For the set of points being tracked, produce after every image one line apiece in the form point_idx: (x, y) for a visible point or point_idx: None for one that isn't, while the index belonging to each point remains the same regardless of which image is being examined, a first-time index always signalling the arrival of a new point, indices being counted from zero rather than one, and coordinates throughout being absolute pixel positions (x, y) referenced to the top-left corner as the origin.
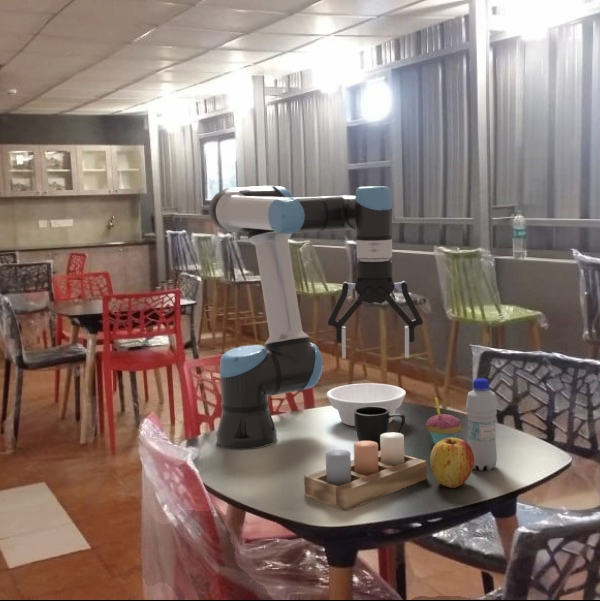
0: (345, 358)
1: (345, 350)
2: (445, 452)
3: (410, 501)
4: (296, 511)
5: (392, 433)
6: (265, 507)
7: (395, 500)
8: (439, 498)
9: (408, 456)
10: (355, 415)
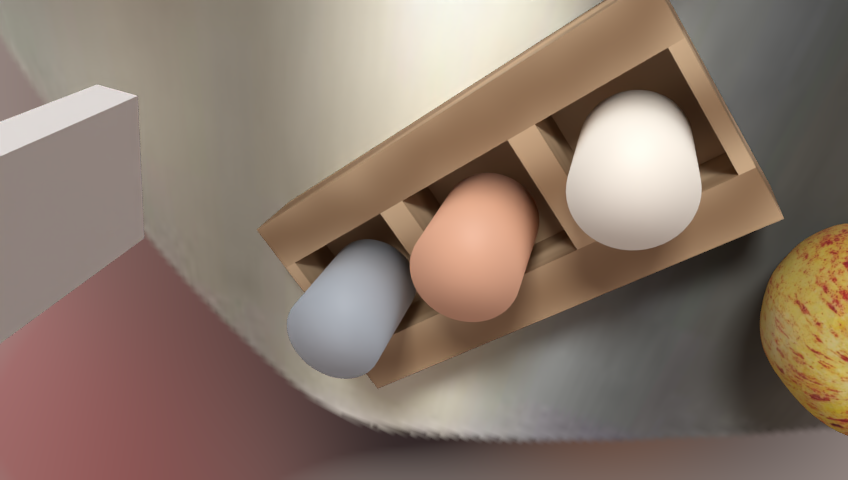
0: (143, 236)
1: (76, 271)
2: (816, 413)
3: (610, 355)
4: (265, 308)
5: (650, 152)
6: (183, 255)
7: (565, 332)
8: (720, 367)
9: (728, 131)
10: None
